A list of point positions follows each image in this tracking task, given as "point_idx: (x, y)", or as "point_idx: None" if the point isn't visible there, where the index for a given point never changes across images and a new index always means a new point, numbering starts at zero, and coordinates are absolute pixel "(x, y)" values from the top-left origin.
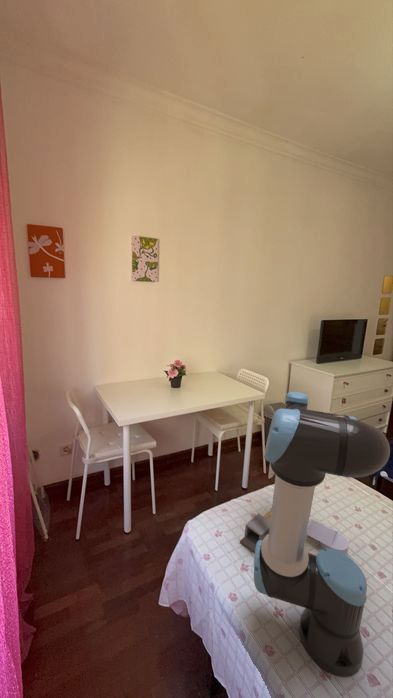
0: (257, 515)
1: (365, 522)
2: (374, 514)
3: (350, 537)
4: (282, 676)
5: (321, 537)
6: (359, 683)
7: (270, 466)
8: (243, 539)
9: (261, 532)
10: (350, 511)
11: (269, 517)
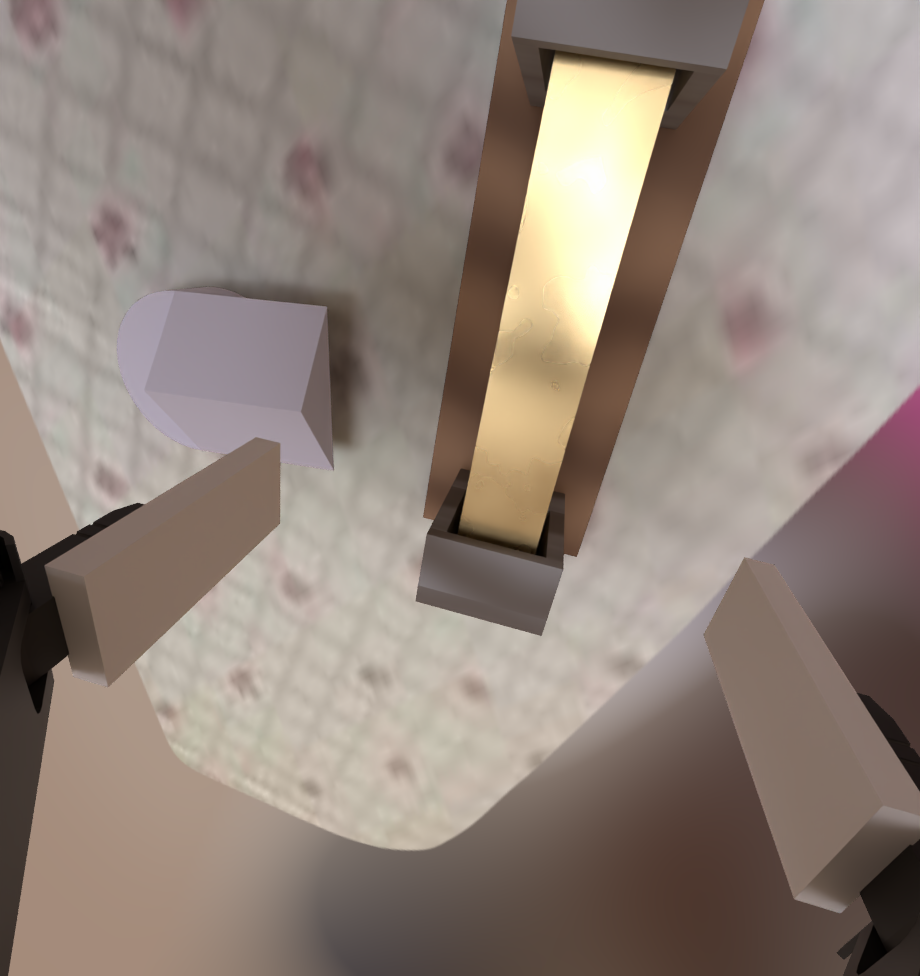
0: (732, 10)
1: (188, 617)
2: (183, 679)
3: None
4: None
5: (229, 322)
6: None
7: (858, 731)
8: None
9: None
10: (259, 656)
11: (591, 155)
